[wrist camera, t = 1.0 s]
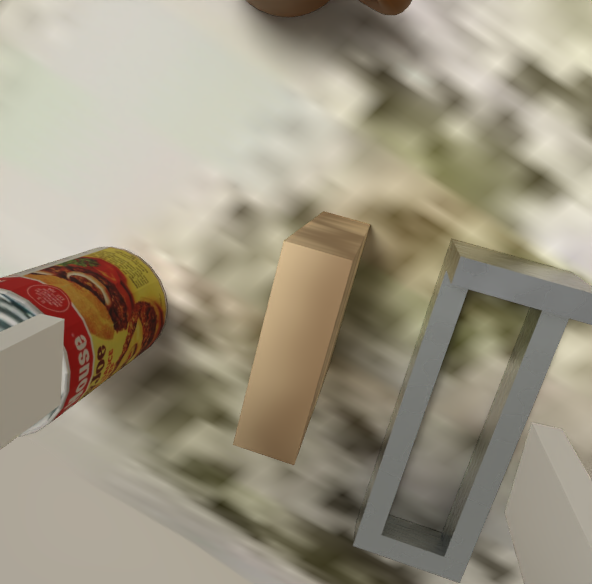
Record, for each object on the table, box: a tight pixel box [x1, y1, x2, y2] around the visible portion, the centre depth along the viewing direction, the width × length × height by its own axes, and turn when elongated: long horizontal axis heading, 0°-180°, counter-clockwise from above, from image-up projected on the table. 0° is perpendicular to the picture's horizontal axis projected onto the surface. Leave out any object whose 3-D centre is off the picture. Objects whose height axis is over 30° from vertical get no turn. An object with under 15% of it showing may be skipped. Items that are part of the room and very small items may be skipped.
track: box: [353, 239, 592, 583], centre depth 34 cm, size 7×21×6 cm, turn 165°
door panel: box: [233, 211, 370, 465], centre depth 31 cm, size 3×10×12 cm, turn 166°
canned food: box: [0, 247, 167, 437], centre depth 34 cm, size 8×8×12 cm
